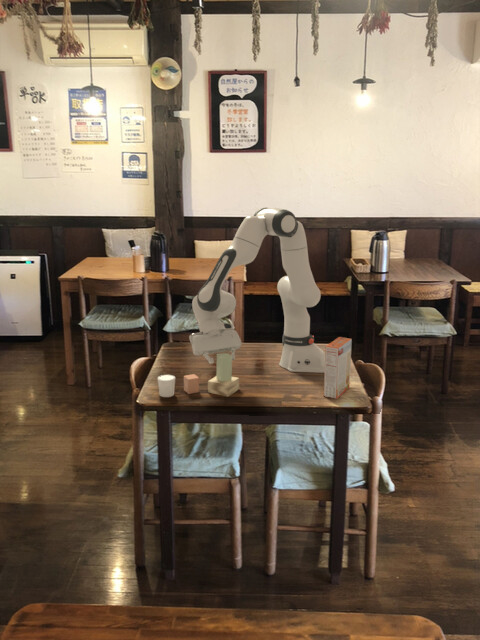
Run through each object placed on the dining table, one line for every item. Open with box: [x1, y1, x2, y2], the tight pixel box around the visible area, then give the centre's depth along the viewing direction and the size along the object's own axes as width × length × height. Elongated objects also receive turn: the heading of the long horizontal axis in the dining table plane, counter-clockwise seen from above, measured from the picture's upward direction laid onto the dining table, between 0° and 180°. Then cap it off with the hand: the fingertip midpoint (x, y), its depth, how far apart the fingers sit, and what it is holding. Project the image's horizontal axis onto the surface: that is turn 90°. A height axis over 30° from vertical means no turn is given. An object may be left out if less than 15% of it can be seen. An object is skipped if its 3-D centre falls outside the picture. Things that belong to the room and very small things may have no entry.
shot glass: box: [157, 374, 176, 398], centre depth 238 cm, size 7×7×7 cm
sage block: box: [215, 352, 233, 382], centre depth 241 cm, size 4×4×10 cm
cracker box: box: [323, 336, 353, 400], centre depth 240 cm, size 14×6×21 cm, turn 150°
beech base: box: [207, 375, 240, 398], centre depth 243 cm, size 9×9×5 cm
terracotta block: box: [183, 373, 200, 395], centre depth 242 cm, size 4×4×6 cm
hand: (222, 361), depth 241 cm, fingers open, 8 cm apart
